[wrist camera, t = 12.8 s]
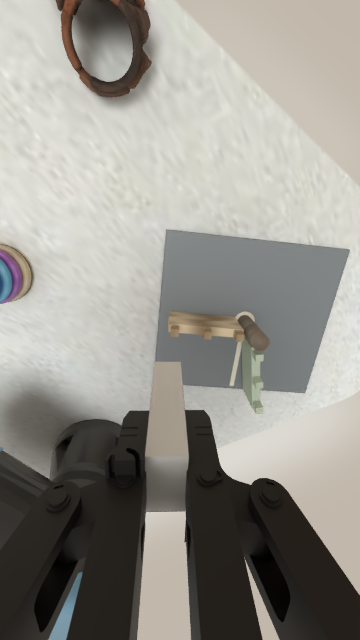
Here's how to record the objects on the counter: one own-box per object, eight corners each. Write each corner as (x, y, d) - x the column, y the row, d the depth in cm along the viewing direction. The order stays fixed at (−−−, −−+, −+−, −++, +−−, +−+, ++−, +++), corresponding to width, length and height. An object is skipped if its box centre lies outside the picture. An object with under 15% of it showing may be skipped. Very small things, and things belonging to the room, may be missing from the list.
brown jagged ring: (172, 19, 29) (169, 23, 23) (131, 107, 35) (121, 126, 29) (61, -102, 23) (24, -132, 18) (35, 27, 29) (2, 33, 24)
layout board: (303, 391, 45) (305, 393, 45) (153, 381, 44) (153, 383, 43) (347, 249, 37) (350, 249, 37) (166, 229, 36) (166, 229, 35)
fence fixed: (252, 315, 40) (271, 335, 32) (249, 328, 40) (267, 351, 33) (169, 308, 39) (169, 327, 32) (167, 321, 40) (167, 343, 32)
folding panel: (241, 332, 40) (255, 353, 34) (249, 331, 40) (264, 352, 34) (242, 387, 44) (255, 415, 37) (249, 387, 44) (263, 414, 37)
